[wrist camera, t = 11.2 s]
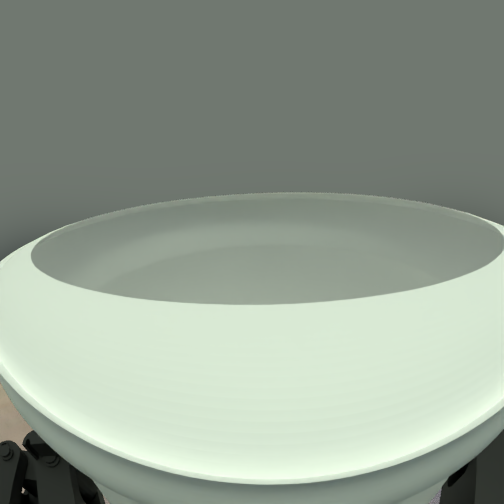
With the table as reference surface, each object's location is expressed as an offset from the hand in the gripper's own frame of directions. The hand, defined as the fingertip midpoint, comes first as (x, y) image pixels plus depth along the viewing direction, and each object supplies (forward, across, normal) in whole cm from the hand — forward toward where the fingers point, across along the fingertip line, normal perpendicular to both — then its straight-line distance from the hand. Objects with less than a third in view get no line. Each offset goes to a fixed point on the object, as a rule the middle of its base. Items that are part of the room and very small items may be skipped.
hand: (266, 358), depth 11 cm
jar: (-4, 0, -8) cm, 9 cm away
